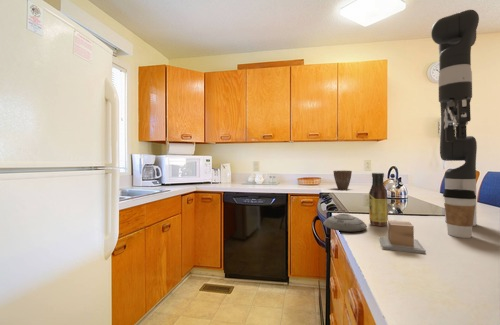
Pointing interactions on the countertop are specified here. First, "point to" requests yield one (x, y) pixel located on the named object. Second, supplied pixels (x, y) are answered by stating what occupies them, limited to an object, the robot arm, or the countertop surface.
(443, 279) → the countertop surface
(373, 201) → the sauce bottle
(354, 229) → the flying saucer
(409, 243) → the walnut cube
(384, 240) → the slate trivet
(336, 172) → the plant pot
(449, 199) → the coffee cup
